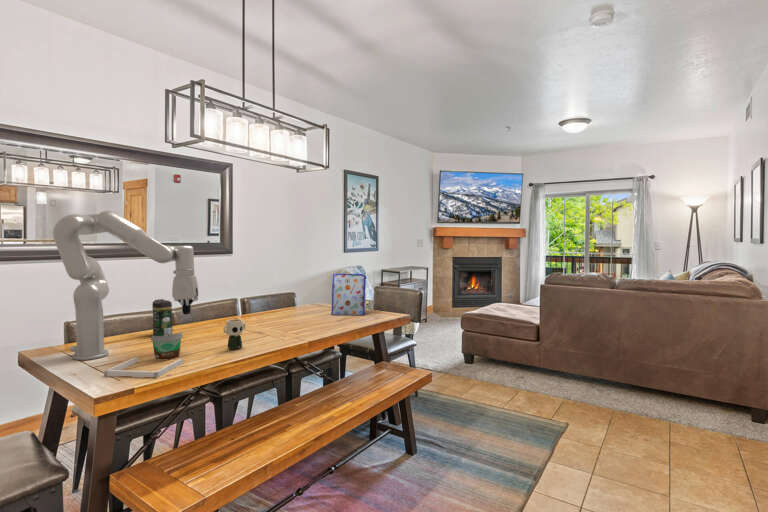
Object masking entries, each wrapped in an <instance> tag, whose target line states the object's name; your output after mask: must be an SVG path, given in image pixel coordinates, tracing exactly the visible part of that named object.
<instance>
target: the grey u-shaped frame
mask: <svg viewBox="0 0 768 512" xmlns="http://www.w3.org/2000/svg"><path fill="white" fill-rule="evenodd" d="M136 362H137V363H138V362H139V358H138V357H136V356H135V357H133V358H131V359H128V360H125V361H123V362H121V363H119V364H117V365H115V366H113V367H109V368H107V369H105V370H104V377H116V376H132V377H131V378H144V377H158V378H159V376H160V377H161V376H163V375H165V374H168V371H169V372H170V371H172V370H174V369H176V368H178V367H180V366H181V365H183V364H184V363H183V362H184V360H183V358H178V359H177V360H176V361H173V362H172V363H169V364H167V365H166V366H164V367H162V368H160V369H158V370H156V371H152V370H150V371H148V370H124V369H126V368H128V367H130V365H131V366H133V365H135V364H137V363H136ZM134 363H135V364H134ZM132 364H133V365H132ZM179 365H180V366H179ZM177 366H178V367H177ZM123 368H124V369H123ZM121 369H122V370H121ZM162 374H163V375H162Z"/></svg>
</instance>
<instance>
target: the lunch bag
mask: <svg viewBox="0 0 768 512" xmlns="http://www.w3.org/2000/svg"><path fill="white" fill-rule="evenodd" d="M366 279H367V276H366V274H363V273H343V272H342V273H333V274H332V283H331V284H332V286H331V287H332V288H331V313H330V314H331V315H334V316H365V310H366V297H367V296H366V283H367V282H366V281H367V280H366Z"/></svg>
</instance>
